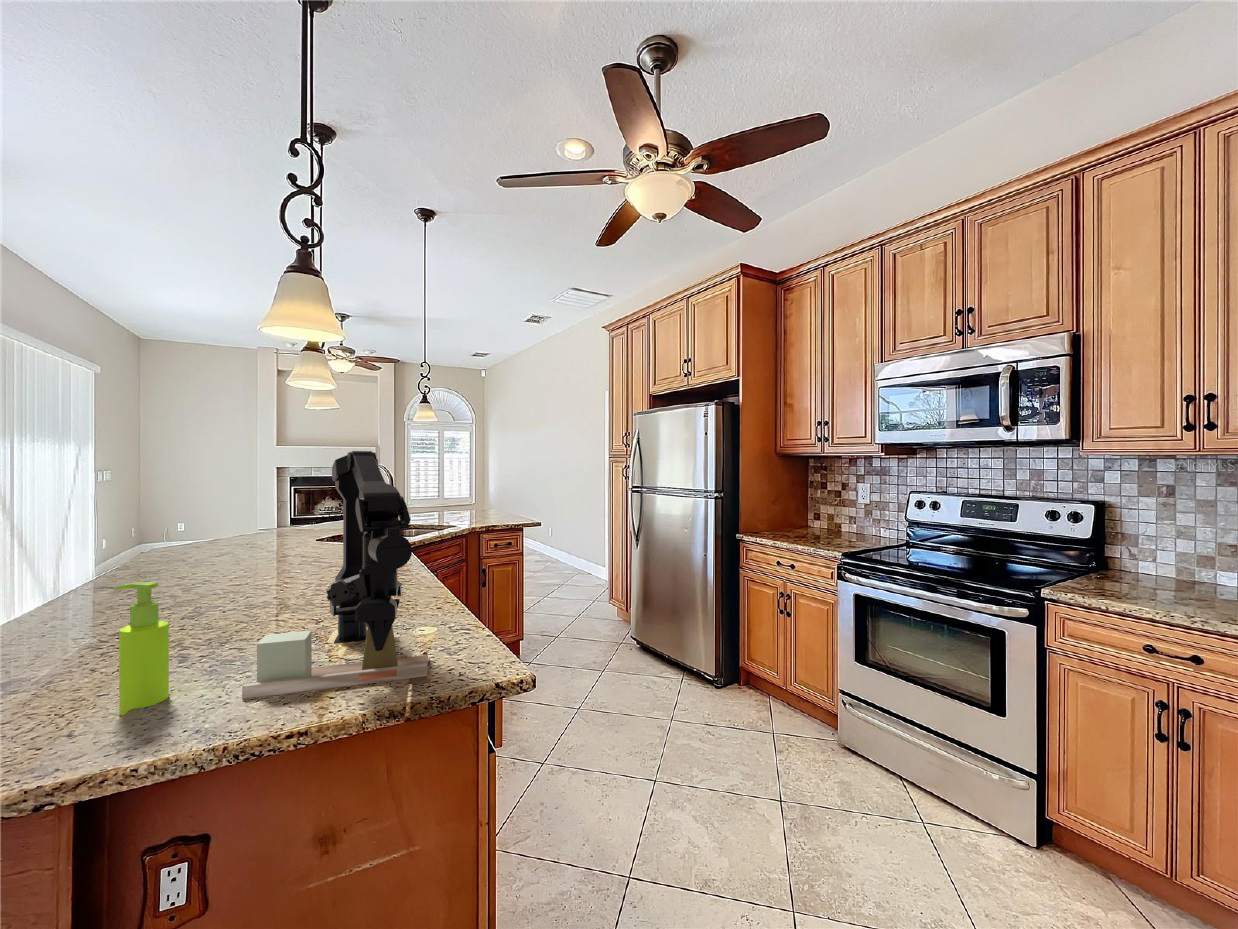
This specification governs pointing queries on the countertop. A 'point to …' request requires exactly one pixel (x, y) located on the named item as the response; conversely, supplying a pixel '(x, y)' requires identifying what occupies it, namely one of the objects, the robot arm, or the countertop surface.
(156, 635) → the soap dispenser
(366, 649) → the cork
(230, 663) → the countertop surface
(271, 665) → the sage tin
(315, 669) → the shelf board
